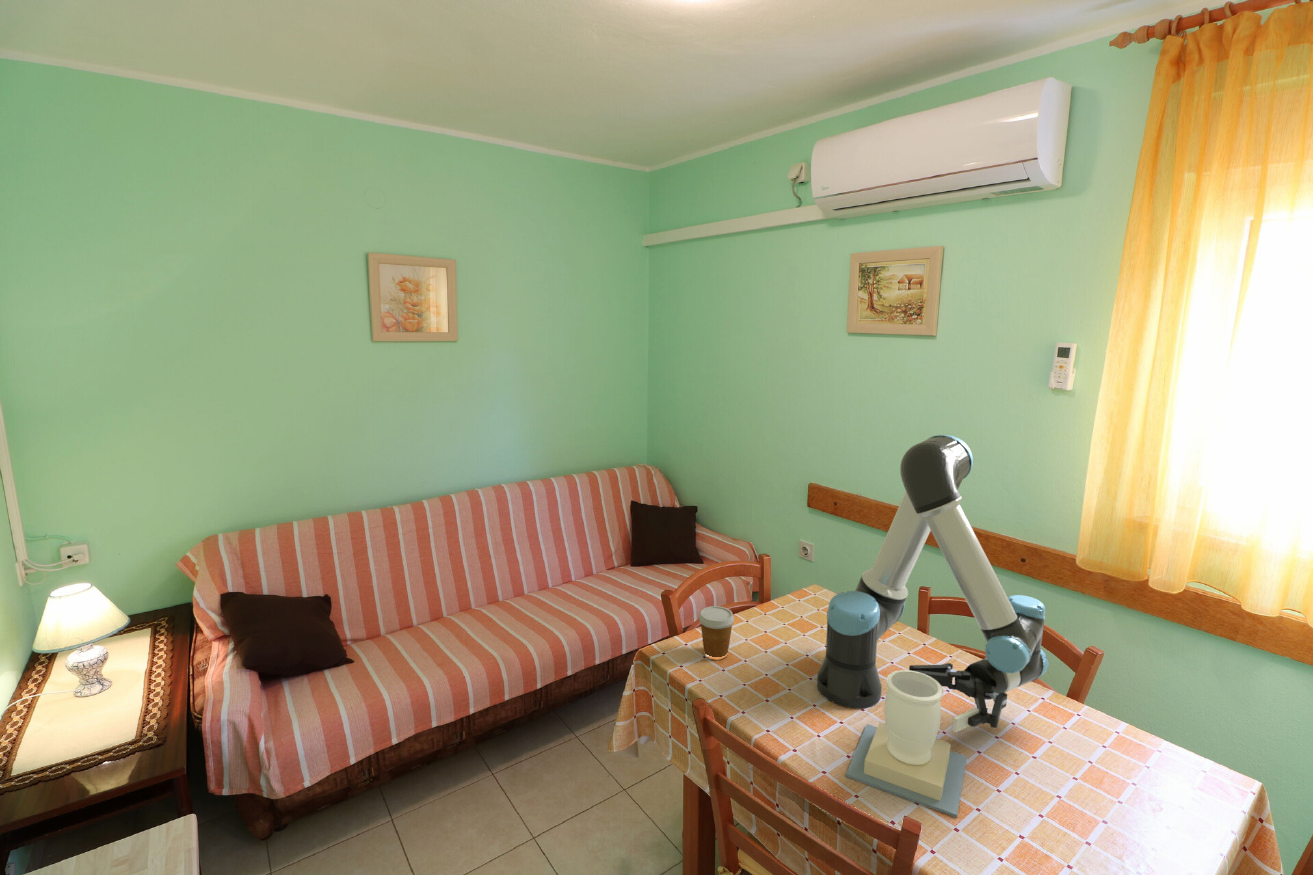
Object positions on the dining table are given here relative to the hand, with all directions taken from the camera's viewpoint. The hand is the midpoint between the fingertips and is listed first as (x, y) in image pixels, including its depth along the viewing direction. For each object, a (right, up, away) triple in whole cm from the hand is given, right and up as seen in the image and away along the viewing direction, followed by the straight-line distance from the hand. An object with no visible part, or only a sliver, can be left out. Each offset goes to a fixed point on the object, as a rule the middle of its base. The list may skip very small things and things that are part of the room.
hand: (924, 705), depth 123 cm
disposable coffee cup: (-37, -5, +44) cm, 58 cm away
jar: (-3, -10, +1) cm, 10 cm away
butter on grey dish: (-3, -13, +2) cm, 14 cm away
